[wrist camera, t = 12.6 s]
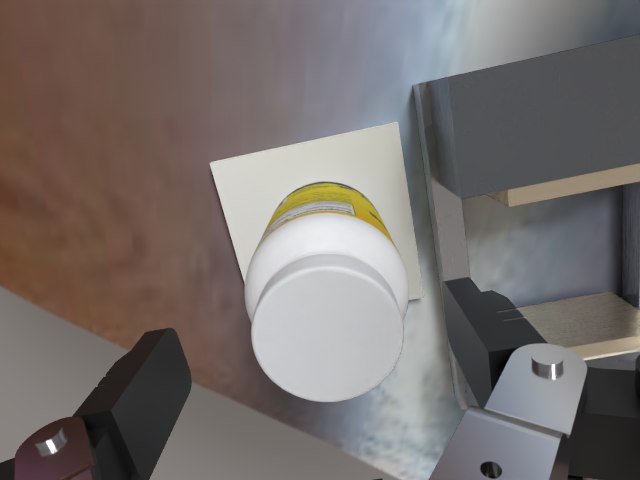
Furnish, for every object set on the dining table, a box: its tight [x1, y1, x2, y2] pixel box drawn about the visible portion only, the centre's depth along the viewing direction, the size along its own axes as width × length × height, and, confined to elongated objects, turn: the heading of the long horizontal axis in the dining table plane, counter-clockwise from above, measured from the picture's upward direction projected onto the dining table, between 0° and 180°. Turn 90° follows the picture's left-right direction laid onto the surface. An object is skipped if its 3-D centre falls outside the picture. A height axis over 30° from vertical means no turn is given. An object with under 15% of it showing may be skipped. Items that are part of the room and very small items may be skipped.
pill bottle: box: [244, 181, 409, 402], centre depth 18 cm, size 6×6×11 cm
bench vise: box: [413, 34, 640, 410], centre depth 21 cm, size 19×12×5 cm, turn 12°
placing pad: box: [210, 122, 424, 300], centre depth 23 cm, size 10×10×1 cm
